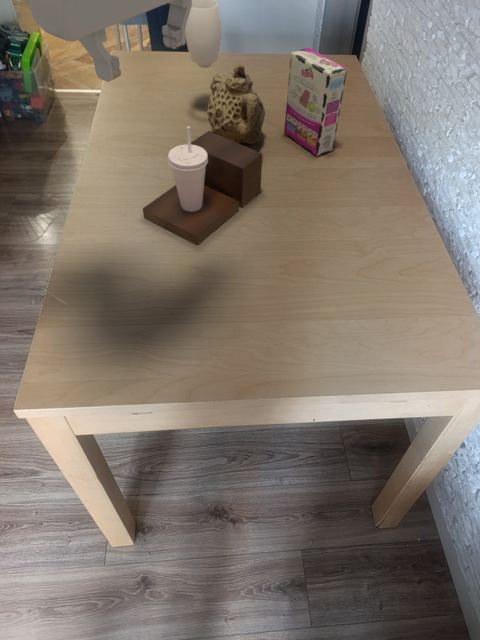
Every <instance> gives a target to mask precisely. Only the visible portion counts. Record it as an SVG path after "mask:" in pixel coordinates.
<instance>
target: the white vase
mask: <svg viewBox="0 0 480 640" xmlns="http://www.w3.org/2000/svg"><path fill="white" fill-rule="evenodd" d="M221 25H222V24H221V16H220V8H219V3H218V1H217V0H192V6H191V10H190V13H189V17H188V20H187V23H186V27H185V41H186V47H187V50H188V54H189V56H190V59H191V61H192V62H194V63H195V64H196V65H197V66H198V67H199V68H202V69H207V68H210V67H211V66H212V65H213V64H214V63H216V62H217V61H218V58H219V53H220V50H221V43H222V42H221V41H222V26H221Z"/></svg>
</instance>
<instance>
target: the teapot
mask: <svg viewBox="0 0 480 640" xmlns="http://www.w3.org/2000/svg"><path fill="white" fill-rule="evenodd" d="M232 70H233V71H232V72H230V73H228V72H226V71H223V72H218V73H216V74H215V76H213V77H212V80H211V83H210V87H209V88H210V90H211V95H210V96H209V100H208V103H207V112H206V114H207V117H208V118H207V119H208V122H209V125H210V127H211V128H212V130H213V131H214V133H215V134H217V135H220V136H222V137H224V138H227V139H229V140H232V141H234V142H236V143H239V144H241V145H243V144H252V145H253V144H255V143H256V142H257V141H258V139H259V138H260V136H261V132H262V127H263V124H264V121H265V115H266V110H265V107H264V103H263V101H262V99H261V97H260V96H259V94H258V93H257V92H256V90H253V85H254V81H253V79H252V78H251V76H250V75H249V74H247V73H246V72H245V66H244V65H243V64H242V63H236V65H234V67H233V68H232Z"/></svg>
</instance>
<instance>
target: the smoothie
mask: <svg viewBox="0 0 480 640" xmlns="http://www.w3.org/2000/svg"><path fill="white" fill-rule="evenodd" d="M186 142H187V144H180V145H179V144H178V145H177V146H174V147H173V148H171V149H170V150H169V152H168V154H167V155H168V156H167V157H168V158H167V162H168V164H169V165H170V166H171V170H172V174H173V178H174V183H175V185H176V187H177V191H178V195H179V199H180V204H181V207H182V209H184V210H185V211H189V212H194V211H198V210H199V209H201V207H202V202H203V190H204V179H205V168H206V164H207V162H208V157H207V152H206V151H205V150H204V149H203V148H201V147H199V146H196V145H191V142H192V138H191V126H189V125H187V126H186Z"/></svg>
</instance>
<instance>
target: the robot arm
mask: <svg viewBox="0 0 480 640" xmlns="http://www.w3.org/2000/svg"><path fill="white" fill-rule="evenodd" d="M27 3H28V4H27V5H28V7H29V10H30V13H31V16H32V18H33V21H35V23H36V24H37V25H38V26H39V27H40V28H41V29H42V30H43V31H44V32H45V33H47V34H49V35H51V36H53V37H56V38H58V39H60V40H64V41H66V42H72V43H73V42H76V41H79V43H80V44H81V45H82V47H83V48H84V50H85V51H86V52H87V53H88V55H89V56H90V57H91V58H92V61H93V65H94V70H95V74H96V76H97V77H98V79H100V80H102V81H104V82H107V83H109V82H112V81H113V80H115V79H118V78H119V77H121V76H122V71H121V69H120V57H118V56H115V55H111V54H110V53H109V52H108V50H107V49H106V47H105V46H104V44H103V43H106V42H107V40H108V38H107V32H106V29H107V28H110V27H112V26H115V25H118V24H120V23H123V22H125V21H128V20H131V19H132V18H135V17H138V16H139V15H142V14H145V13H146V12H150V11H152V10H155V9H157V8H160V7H162V6H165V5H167V4H169V9H168V15H167V21H166V24H165V25H162V26H161V33H162V35H163V38H162V43H163V44H164V46H165V47H166V48H169V49H172V50H177V49H179V48H181V47H183V46H185V45H186V44H187V42H186V37H185V27H186V23H187V20H188V17H189V13H190V10H191V6H192V0H27Z"/></svg>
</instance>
